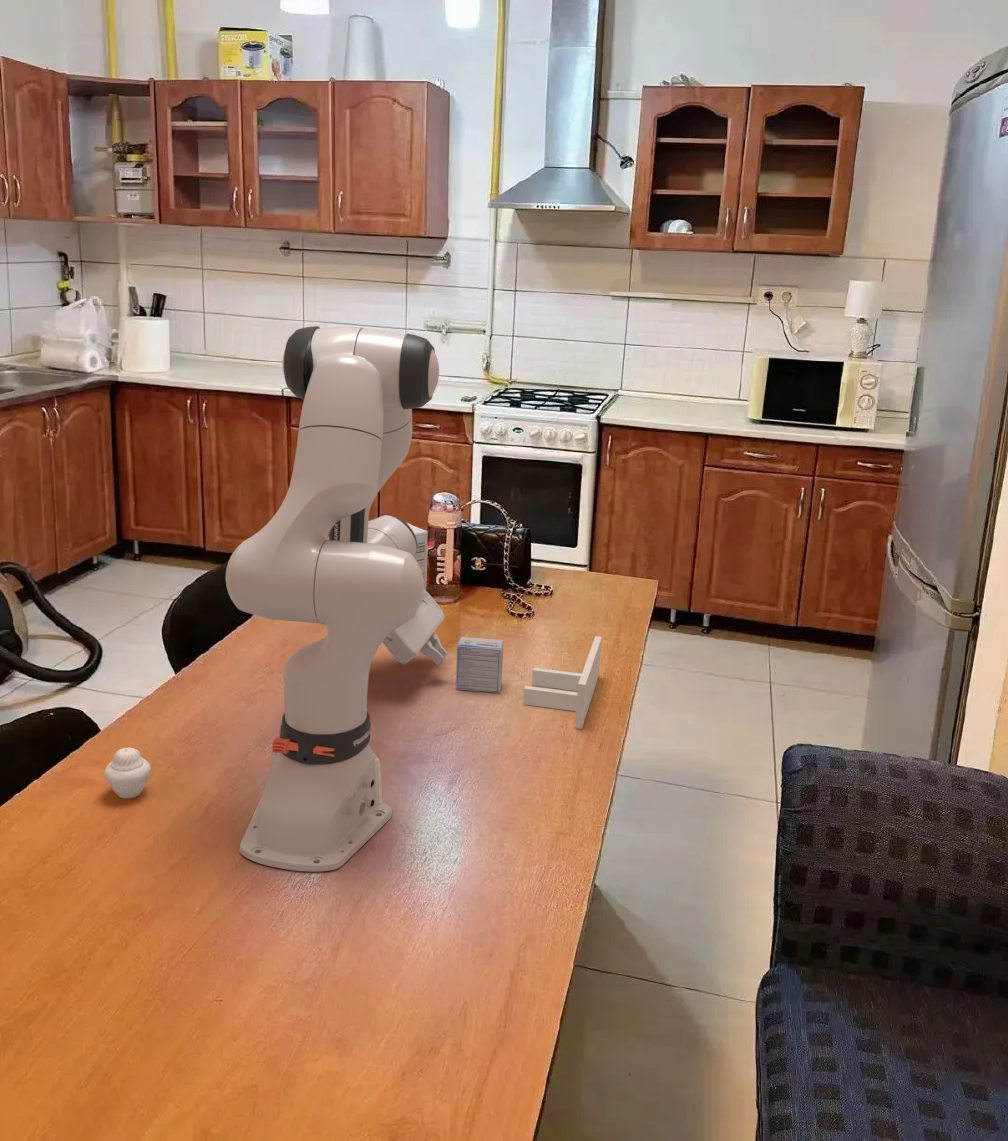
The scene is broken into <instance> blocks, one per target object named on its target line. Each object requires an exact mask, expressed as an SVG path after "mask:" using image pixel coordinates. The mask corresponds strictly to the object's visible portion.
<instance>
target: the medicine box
mask: <svg viewBox="0 0 1008 1141" xmlns="http://www.w3.org/2000/svg"><path fill="white" fill-rule="evenodd" d="M503 660H504V640H503V639H495V638H494V639H493V638H481V637H470V636H469V637H468V636H461V637H460V638H459V641H458V643H457V645H456V666H455V667H456V669H455V670H456V671H455V672H456V674H455V675H456V676H455V677H456V678H455V690H461V691H462V690H463V691H472V692H473V691H474V692H475V691H476V692H485V693H496V694H497V693H500V692H501V686H502V682H503V664H504V663H503Z"/></svg>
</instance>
